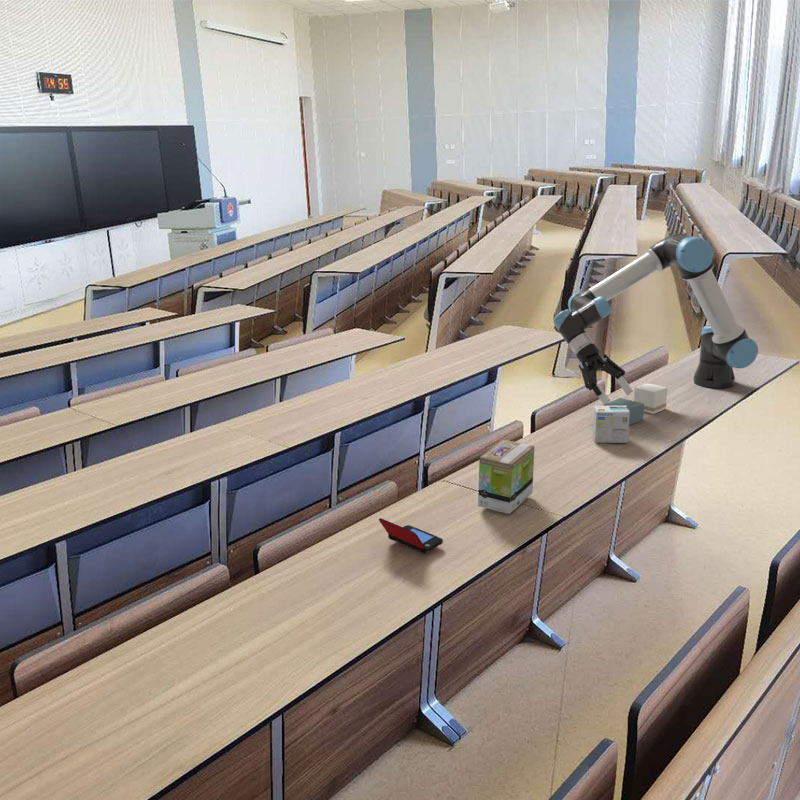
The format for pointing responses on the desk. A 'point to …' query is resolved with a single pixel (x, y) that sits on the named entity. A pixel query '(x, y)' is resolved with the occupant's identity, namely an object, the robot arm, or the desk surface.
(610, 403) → the grey-blue square block
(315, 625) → the desk surface
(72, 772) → the desk surface
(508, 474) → the tea box
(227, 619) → the desk surface
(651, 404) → the carton
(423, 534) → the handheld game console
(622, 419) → the light bulb box
